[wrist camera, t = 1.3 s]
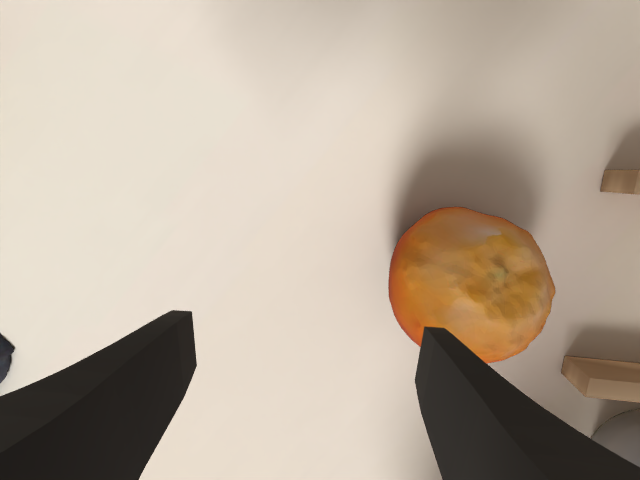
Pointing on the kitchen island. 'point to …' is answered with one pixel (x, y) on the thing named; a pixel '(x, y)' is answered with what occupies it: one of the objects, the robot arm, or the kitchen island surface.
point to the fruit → (471, 282)
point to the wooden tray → (606, 374)
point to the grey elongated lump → (4, 357)
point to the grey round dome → (622, 435)
